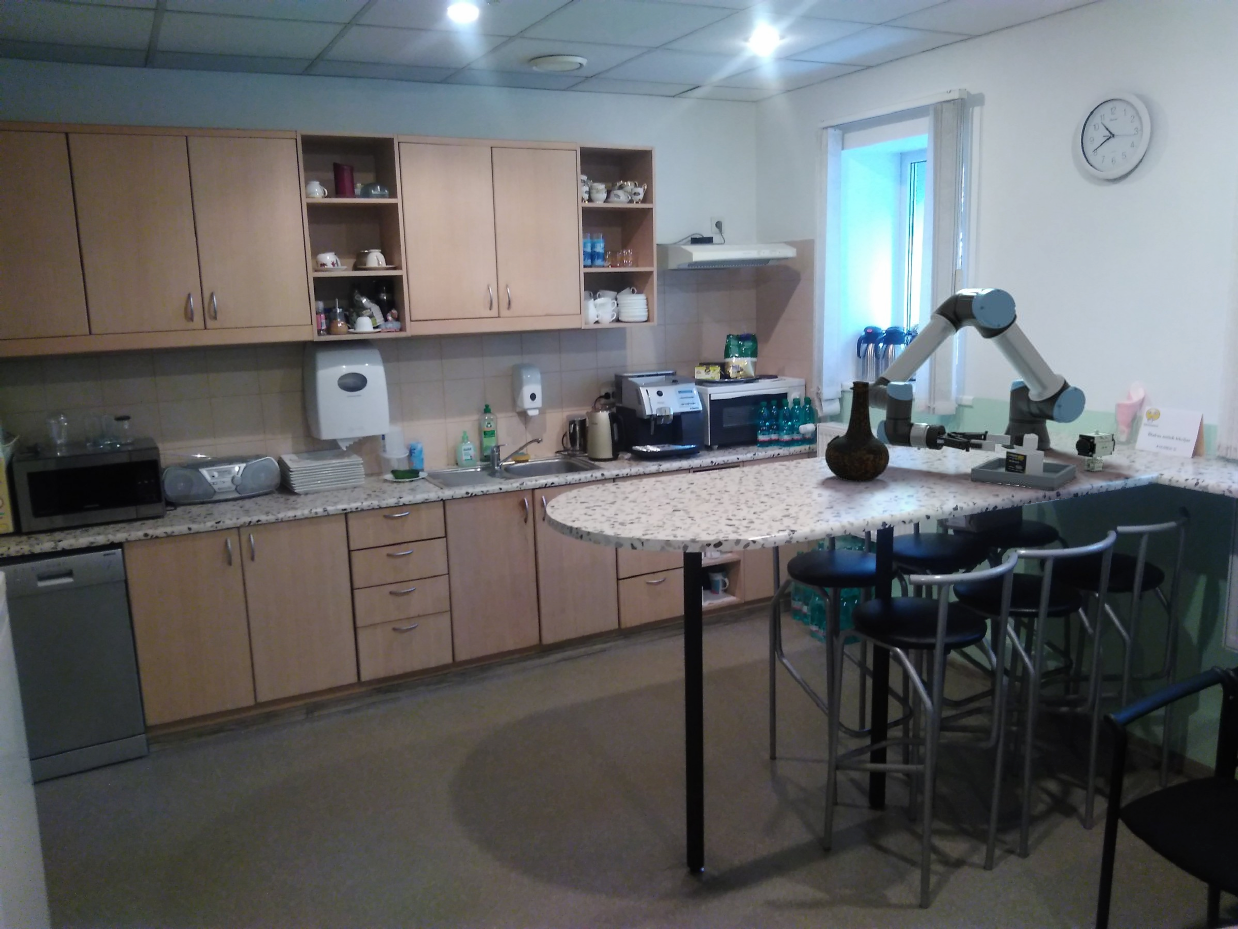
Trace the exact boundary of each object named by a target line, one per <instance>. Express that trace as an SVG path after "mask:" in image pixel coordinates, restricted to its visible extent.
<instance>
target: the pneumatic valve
mask: <svg viewBox="0 0 1238 929" xmlns="http://www.w3.org/2000/svg"><path fill="white" fill-rule="evenodd" d="M1114 436H1115V435H1114V433H1109V432H1104V431H1099V430H1098V429H1097V430H1094V432H1089V433H1079V434H1078V439H1077V441H1076V443H1075V449H1076V451H1077V456H1082V457H1086V458H1085V460H1084V462H1085V463H1084V471H1089V472H1093V471H1094V472H1093V473H1096V472H1095V471H1097V472H1102V471H1103V468H1102V467H1103V465H1104V463H1103V462H1104V459H1101V458H1103V457H1104V456H1111V455H1112V454H1113V453H1114V452H1115V448H1116V447H1115V446H1116V440H1115V437H1114ZM1097 458H1098V459H1097ZM1099 458H1100V459H1099Z"/></svg>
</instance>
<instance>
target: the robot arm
mask: <svg viewBox="0 0 1238 929" xmlns="http://www.w3.org/2000/svg"><path fill="white" fill-rule="evenodd" d="M1016 307H1017V306H1016V302H1015V299H1014V298H1013V296H1012V295H1011V294H1010V293H1009V292H1008V291H1007V290H1005V289H1001V288H997V287H987V288H985V287H984V288H971V287H969V288H964V289H961V290H958V291H957V292H955V293H953V294H952V295H951V296H949V297H948V298H947V299H946V300H944V301H943V302H942V304H940V305H939V307H937V309H935V310H934V312H932V314H931V315H930V321H929V322H928V323H927V324H926V326H924V327H923V328H922V330H921V331H920V332H919V333H918V334H917V335H916V336H915V337H914V339H912V340H911V342H910V343H909V344H908V345H907V346H906V347H905V349H904V350H902V352H900V354H899V355H898V356H897V357H896V358H895V359H894V360H893V361H892V363H891V364H890V365H889V366H888V367H887V368H886V369H885V370H884V372H883V373H882V374H881V375H880V376H879V377H878V378H877V379H876V380H875V381H874V382H871V383H870V382H869V388H872V390H870V391H869V408H870V409H877V410H878V409H879V410H882V411H885V419H882V420H880V421H879V423H878V424H877V428H876V438H877V439H879V440H880V441H881V442H883V443H884V444H885V445H888V446H892V447H894V446H895V447H904V448H905V447H906V448H916V449H917V450H918V451H920V450H921V449H928V450H935V451H936V450H937V451H941V450H942V449H944V447H947V448H952V449H957V450H959V451H960V450H961V451H965V453H969V452H970V450H974V451H982V452H992V453H994V452H995V451H996V445H1001V446H1002V447H1003V448H1007V449H1010V450H1011V449H1015V448H1014V438H1015V435H1016V434H1018V433H1032V434H1035V435H1037V436H1038V444H1037V449H1036V450H1038V451H1044V450H1049V449H1051V438H1050V434H1049V430H1048V428H1047V427H1048V426H1047V421H1051V422H1056V423H1058V424H1069V423H1070V424H1071V423H1073V422H1075V421H1076V420H1078V419H1079V418H1080V417H1081V415H1082V414H1083V413H1084V410H1085V407H1086V406H1085V405H1086V401H1087V400H1086V396H1085V392H1084V391H1083V390H1082V389H1081V388H1079V387H1077V386H1071V385H1070V384H1069V382H1068V381H1067V380H1066V378H1065V377H1064V375H1062V374H1060V373H1055V372H1054V371H1053V370H1052V369H1051V367H1050V366H1049V364H1047V362H1046V361H1045V359H1044V358H1043V357H1042V356H1041V353H1039V351H1038V350H1037V349H1036V348H1035V346H1034V345H1033V343H1032V342H1031V341H1030V339H1029V338H1028V336H1026V334H1025V333H1024V331H1023V330H1022V328H1021V327H1020V326H1019V325H1018V323H1017V318H1018V316H1017V310H1016ZM965 327H973V328H975V329H976V331H977V332H978V333H979V335H980V337H982V338H983V339H985V340H991V341H992V343H993V344H994V345H995V347H996V348H997V349H998V350H999V352H1000V353H1001V354H1002V356H1003V357H1004V358H1005V360H1006V361H1007V362H1008V364H1010V366H1011V367H1012V369H1014V371H1015V372H1016V374H1017V375H1018V376H1019V377H1020V379H1014V380H1013V381H1012V382H1011V386H1010V390H1009V391H1010V392H1009V393H1010V394H1009V410H1008V411H1009V412H1008V424H1007V426H1006V428H1005V430H1004V433H1003V434H996V433H995V434H994V433H989V431H988V430H985V431H979V432H978V431H957V430H951V431H950V432H949V431H948V432H947V431H946V428H945V425H942V424H933V423H932V424H930V423H924V422H923V423H922V422H912V413H913V412H912V411H913V399H914V394H913V393H914V392H913V390H914V389H913V388H914V386H913V384H912V383H911V382H909V381H910V380H911V378H912V377H913V376H914V375H915V374H916V373H917V372H918V370H920V369H921V367H922V366H923V365H924V364H925V363H926V362H927V361H928V360H929V359H930V357H931V356H933V354H934V353H935V352H936V351H937V350H938V349H939V347H941V345H942V344H943V343H944V342H945V341H946V340H947V339H948V338H949V337H950V336H955V335H956V334H957V333H958V332H959V330H961V329H963V328H965Z"/></svg>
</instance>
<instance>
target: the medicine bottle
mask: <svg viewBox="0 0 1238 929" xmlns="http://www.w3.org/2000/svg"><path fill="white" fill-rule="evenodd" d="M1037 444H1038V436H1037V435H1035V434H1032V433H1018V434H1016V435H1015V438H1014V448H1015V449H1011V448H1010V449H1006V450H1005V451H1006V453H1005V458H1006V463H1005V472H1013V473H1022V474H1031V475H1039V476H1042V474H1043V462H1045V461H1044V460H1045V458H1044V457H1045V451H1044V450H1036V449H1037Z"/></svg>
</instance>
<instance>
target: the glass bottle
mask: <svg viewBox="0 0 1238 929" xmlns="http://www.w3.org/2000/svg"><path fill="white" fill-rule="evenodd" d="M869 384H870V382H868V381H863V380H862V381H861V380H854V381H852V386H851V387H849V390H851V391H852V396H851V398H852V399H851V400H852V401H851V406H850V407H851V408H850V409H851V410H850V415H849V421H848V426H847V430H846V432H845V433H844V434H843V435H842V436H840V435H839V434H837V435H836V436H834V437H833V438H832V439H831V440H830V441H829V442H827V444H826V448H825V452H824V459H825V462H826V465H827V468H829V471H831V473H832V474H834V476H836V477H838V478H839V479H841V480H843V481H848V482H868V481H873V480H875V479H876V478H879V476H881V475H882V474H883V473H884V472H885V470H886V469H887V467H888V465H889V462H890V452H889V449H888V447H887V446H886V444H884V443H883V442H881V441H880V440H879V439H877V436H875V435H874V433H873V431H872V425H871V417H870V407H869V391H870V390H872V388H869Z"/></svg>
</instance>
